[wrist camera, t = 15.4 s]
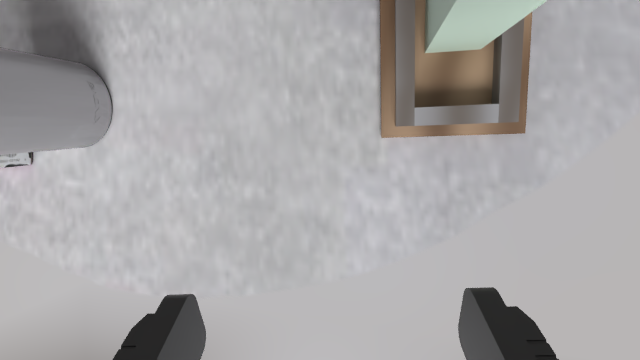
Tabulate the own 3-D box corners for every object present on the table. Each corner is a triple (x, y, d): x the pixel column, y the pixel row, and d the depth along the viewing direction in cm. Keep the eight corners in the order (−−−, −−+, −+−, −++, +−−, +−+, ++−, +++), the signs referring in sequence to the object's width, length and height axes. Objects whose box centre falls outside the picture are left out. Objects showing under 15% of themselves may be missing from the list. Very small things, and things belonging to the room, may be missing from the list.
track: (381, 137, 32) (381, 138, 29) (379, -88, 29) (378, -111, 26) (520, 132, 30) (535, 134, 27) (534, -112, 27) (552, -140, 24)
